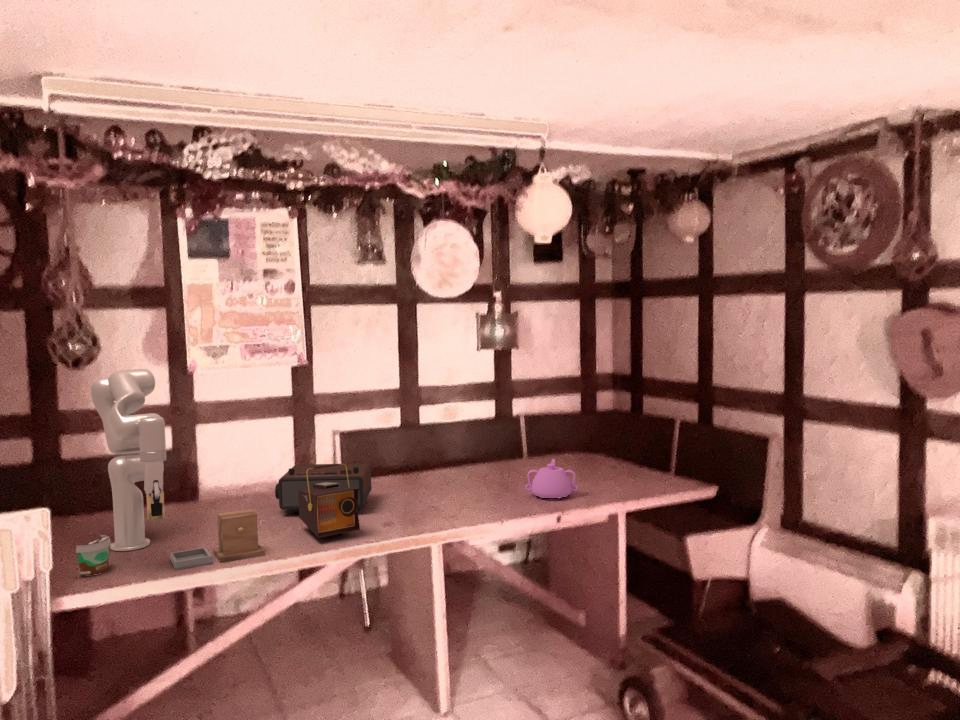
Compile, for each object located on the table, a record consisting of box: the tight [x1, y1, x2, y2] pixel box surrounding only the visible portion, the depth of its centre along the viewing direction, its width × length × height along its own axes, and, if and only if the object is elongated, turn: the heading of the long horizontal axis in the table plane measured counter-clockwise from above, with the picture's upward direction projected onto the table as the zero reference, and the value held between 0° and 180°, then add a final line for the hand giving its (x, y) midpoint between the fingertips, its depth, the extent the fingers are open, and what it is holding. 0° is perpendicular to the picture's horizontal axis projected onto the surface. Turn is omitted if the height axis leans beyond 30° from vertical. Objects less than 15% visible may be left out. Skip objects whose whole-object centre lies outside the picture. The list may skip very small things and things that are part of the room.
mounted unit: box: [212, 508, 266, 564], centre depth 255 cm, size 12×14×14 cm
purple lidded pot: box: [525, 458, 579, 498], centre depth 326 cm, size 22×22×14 cm
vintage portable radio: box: [298, 463, 361, 539], centre depth 276 cm, size 16×23×25 cm
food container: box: [75, 534, 112, 577], centre depth 241 cm, size 12×6×10 cm, turn 170°
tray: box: [169, 547, 213, 571], centre depth 248 cm, size 11×11×2 cm
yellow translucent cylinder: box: [145, 491, 166, 521], centre depth 242 cm, size 5×5×8 cm
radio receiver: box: [274, 462, 372, 513], centre depth 313 cm, size 35×27×18 cm
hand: (156, 513), depth 242 cm, fingers closed on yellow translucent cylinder, 5 cm apart
